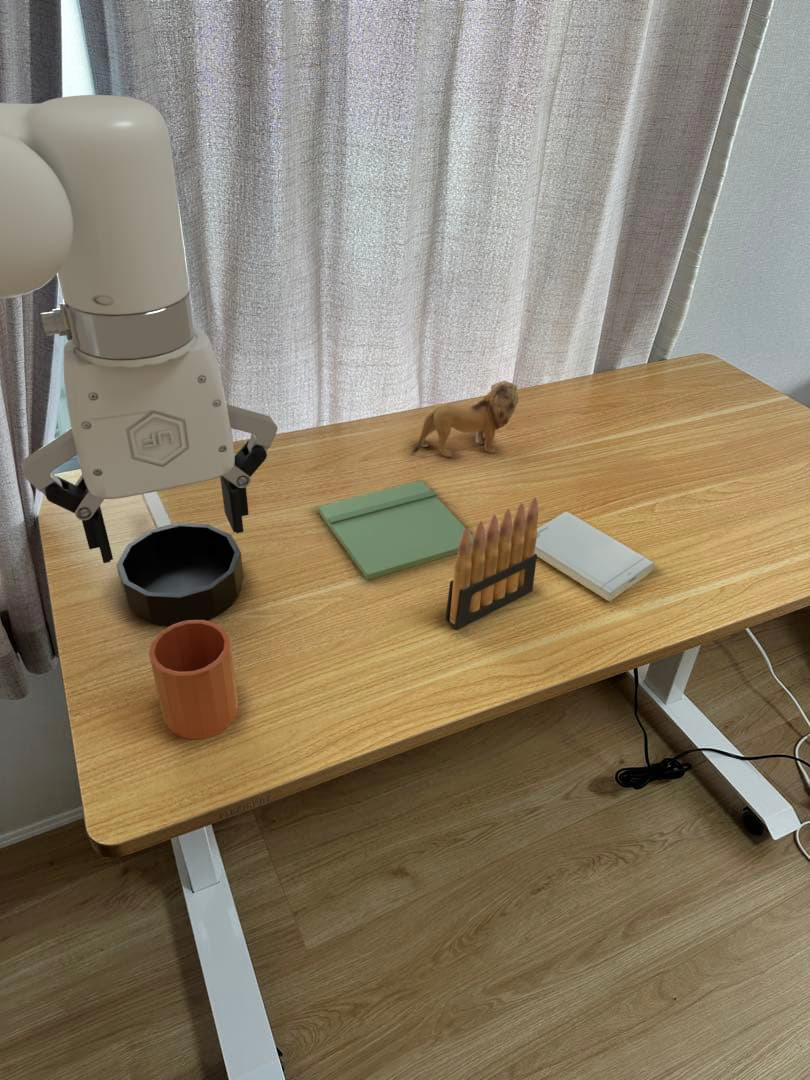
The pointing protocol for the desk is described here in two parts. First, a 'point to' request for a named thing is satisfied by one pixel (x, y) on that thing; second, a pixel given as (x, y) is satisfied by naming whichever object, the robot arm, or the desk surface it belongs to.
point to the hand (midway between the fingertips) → (171, 537)
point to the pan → (179, 570)
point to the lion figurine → (472, 418)
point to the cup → (195, 678)
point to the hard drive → (590, 556)
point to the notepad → (394, 528)
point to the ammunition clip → (493, 566)
